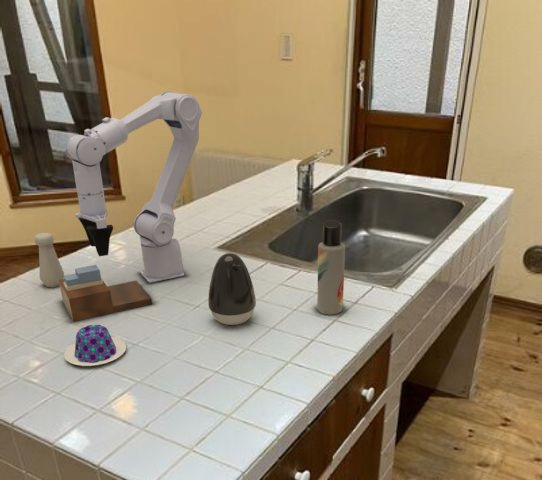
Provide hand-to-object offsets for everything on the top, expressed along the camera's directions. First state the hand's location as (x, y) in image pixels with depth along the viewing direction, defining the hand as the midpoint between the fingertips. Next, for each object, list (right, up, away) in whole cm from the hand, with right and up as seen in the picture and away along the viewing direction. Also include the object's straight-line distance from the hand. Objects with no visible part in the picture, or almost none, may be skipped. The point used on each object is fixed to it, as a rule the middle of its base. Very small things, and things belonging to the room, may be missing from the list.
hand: (99, 250), depth 142 cm
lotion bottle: (+53, -15, -6) cm, 56 cm away
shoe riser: (+2, -12, -1) cm, 13 cm away
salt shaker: (-14, -7, +10) cm, 19 cm away
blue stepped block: (-2, -9, -5) cm, 10 cm away
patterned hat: (+5, -25, -21) cm, 33 cm away
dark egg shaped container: (+32, -17, -10) cm, 38 cm away
